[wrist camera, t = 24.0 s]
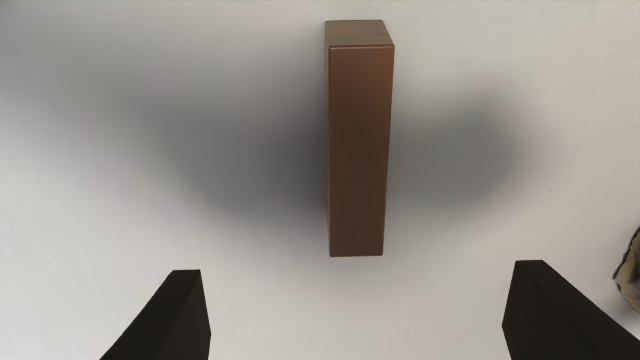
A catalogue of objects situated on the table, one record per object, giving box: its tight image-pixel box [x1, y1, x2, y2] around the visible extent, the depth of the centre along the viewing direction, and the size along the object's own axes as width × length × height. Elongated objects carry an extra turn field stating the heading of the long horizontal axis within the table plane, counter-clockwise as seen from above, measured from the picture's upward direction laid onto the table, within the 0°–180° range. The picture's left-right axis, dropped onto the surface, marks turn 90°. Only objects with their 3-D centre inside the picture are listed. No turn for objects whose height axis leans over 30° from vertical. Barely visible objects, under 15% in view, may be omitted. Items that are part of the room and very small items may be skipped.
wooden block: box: [325, 20, 395, 257], centre depth 19 cm, size 2×8×3 cm, turn 1°
